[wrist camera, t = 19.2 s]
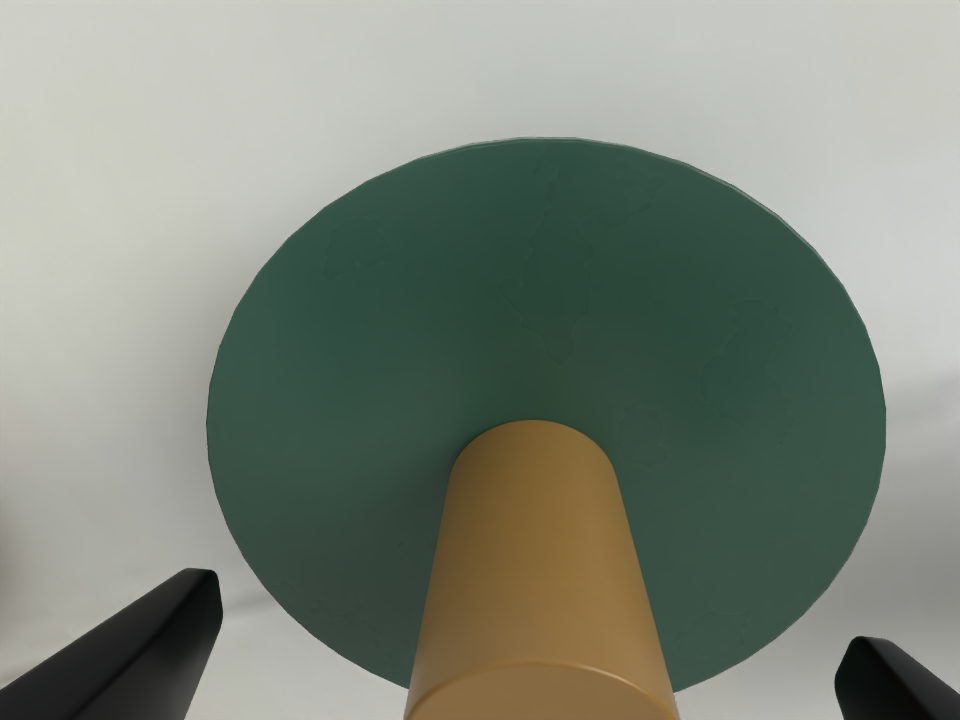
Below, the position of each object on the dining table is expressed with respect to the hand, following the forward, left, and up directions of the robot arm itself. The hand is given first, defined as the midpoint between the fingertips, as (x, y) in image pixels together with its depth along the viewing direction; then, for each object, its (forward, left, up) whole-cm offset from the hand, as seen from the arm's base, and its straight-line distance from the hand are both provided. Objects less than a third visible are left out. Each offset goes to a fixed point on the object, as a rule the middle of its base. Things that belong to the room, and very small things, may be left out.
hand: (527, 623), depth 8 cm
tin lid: (0, 0, -4) cm, 4 cm away
